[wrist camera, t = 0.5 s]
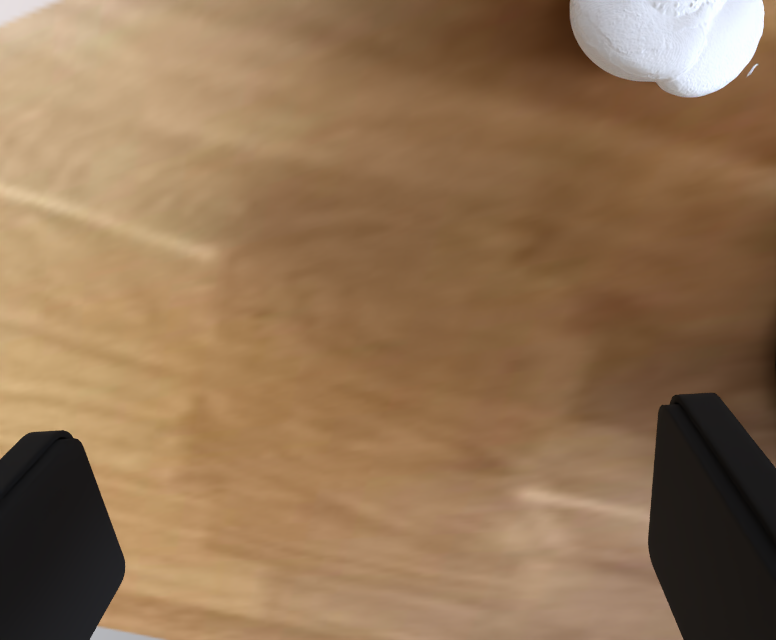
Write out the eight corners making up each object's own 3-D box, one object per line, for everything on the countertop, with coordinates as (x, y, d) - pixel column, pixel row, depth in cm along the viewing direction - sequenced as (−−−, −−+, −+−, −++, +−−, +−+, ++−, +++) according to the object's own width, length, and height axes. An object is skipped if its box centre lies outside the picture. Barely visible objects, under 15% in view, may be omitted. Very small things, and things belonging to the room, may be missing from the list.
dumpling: (524, 57, 23) (532, 25, 19) (594, -87, 22) (618, -152, 18) (699, 139, 23) (745, 123, 19) (780, -4, 22) (845, -52, 18)
